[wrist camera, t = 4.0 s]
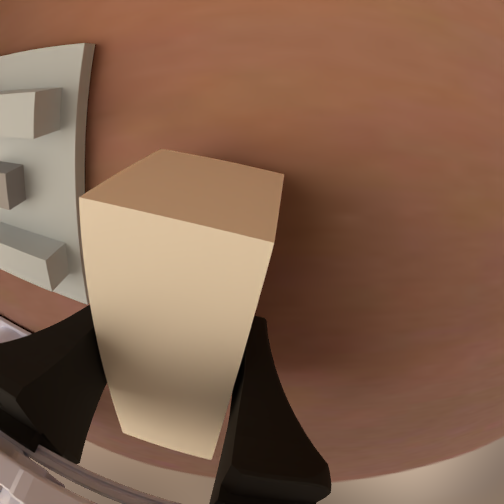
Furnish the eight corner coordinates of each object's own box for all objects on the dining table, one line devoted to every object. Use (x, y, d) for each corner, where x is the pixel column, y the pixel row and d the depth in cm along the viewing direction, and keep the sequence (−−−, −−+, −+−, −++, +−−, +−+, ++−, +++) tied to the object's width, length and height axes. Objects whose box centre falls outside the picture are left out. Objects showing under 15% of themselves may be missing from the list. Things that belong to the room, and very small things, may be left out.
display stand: (93, 296, 17) (72, 324, 15) (-6, 256, 17) (-28, 274, 15) (95, 43, 10) (57, 41, 8) (-22, 63, 10) (-53, 69, 8)
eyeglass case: (229, 382, 17) (211, 459, 12) (154, 361, 17) (122, 432, 12) (284, 174, 10) (274, 242, 6) (161, 148, 11) (78, 197, 6)
